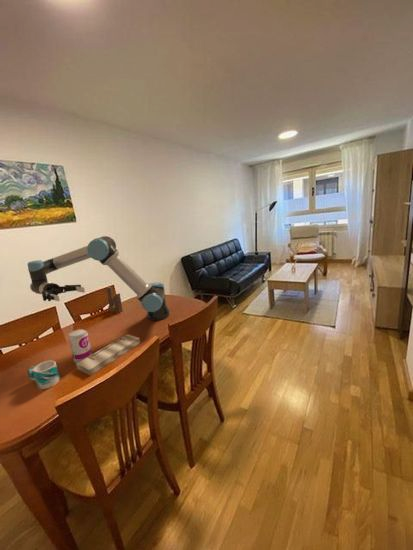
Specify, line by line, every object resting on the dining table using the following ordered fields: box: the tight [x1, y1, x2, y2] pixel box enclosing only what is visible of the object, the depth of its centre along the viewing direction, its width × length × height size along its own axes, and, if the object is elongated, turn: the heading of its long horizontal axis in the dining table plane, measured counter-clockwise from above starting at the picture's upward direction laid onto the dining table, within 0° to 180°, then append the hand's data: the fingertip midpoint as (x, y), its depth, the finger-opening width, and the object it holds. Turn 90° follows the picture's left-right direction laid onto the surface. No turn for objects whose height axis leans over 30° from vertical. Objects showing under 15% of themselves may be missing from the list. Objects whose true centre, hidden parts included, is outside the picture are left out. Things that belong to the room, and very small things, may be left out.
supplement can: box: [68, 328, 93, 364], centre depth 118 cm, size 8×8×15 cm
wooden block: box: [105, 286, 124, 314], centre depth 175 cm, size 4×11×18 cm, turn 62°
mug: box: [26, 359, 61, 390], centre depth 104 cm, size 8×12×8 cm
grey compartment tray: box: [75, 334, 141, 376], centre depth 122 cm, size 30×10×3 cm, turn 149°
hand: (71, 294), depth 125 cm, fingers open, 13 cm apart
